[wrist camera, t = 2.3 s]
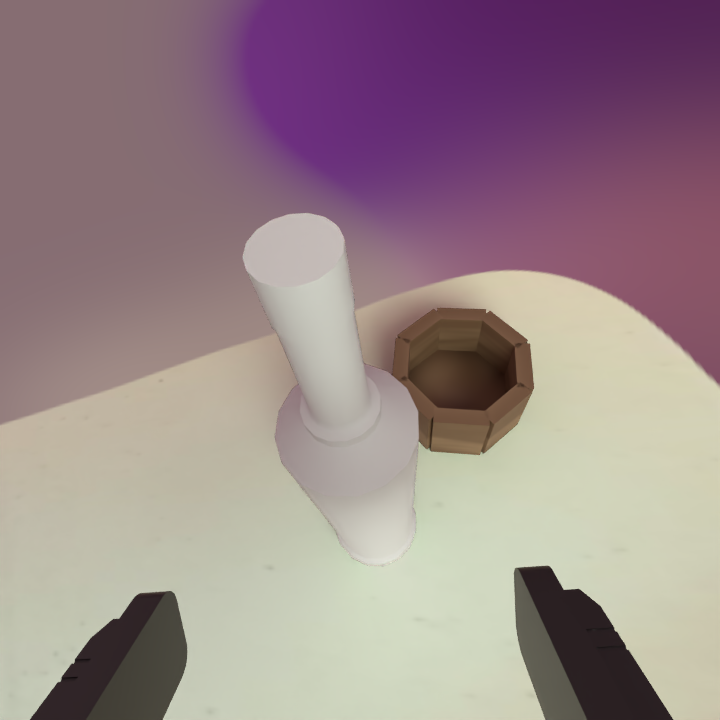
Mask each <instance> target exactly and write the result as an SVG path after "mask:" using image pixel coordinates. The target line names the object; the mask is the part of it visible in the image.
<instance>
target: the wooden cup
mask: <svg viewBox="0 0 720 720" xmlns="http://www.w3.org/2000/svg"><path fill="white" fill-rule="evenodd" d="M527 341H528V340H527V339H526V338H524V337H523V336H522V335H521V334H519V333H518V332H517V331H515V330H514V329H513V328H512V327H510V326H509V325H508V324H506V323H505V322H504V321H503V320H501V319H500V318H499V317H497V316H496V315H495V314H493V313H492V312H491V311H489V312H488V313H486V309H458V308H437V312H436V311H435V310H434V309H433V310H431V311H430V312H429V313H427V314H426V315H425V316H423V317H422V318H420V319H419V320H418V321H416V322H415V323H414V324H412V325H411V326H409V327H408V328H407V329H405V330H404V331H403V332H401V333H400V334H398V338H396V341H395V352H394V363H393V374H392V376H393V377H395V378H396V379H397V380H398V381H399V382H400V383H401V384H403V385H404V386H405V387H406V388H407V389H408V391H409V393H410V396H411V398H412V400H413V402H414V404H415V406H416V408H417V410H418V425H419V442H420V443H421V444H422V445H423V446H424V447H425V448H426V449H428V448H429V447H431V451H434V452H448V453H461V454H474V455H480V453H481V451H482V452H483V453H485V452H486V451H487V450H489V449H490V448H491V447H492V446H493V445H494V444H495V443H497V442H498V441H499V440H500V439H501V438H502V437H503V436H505V435H506V434H507V433H508V432H509V431H510V430H511V429H513V428H514V427H515V426H516V425H517V424H518V422H519V419H520V417H521V415H522V413H523V411H524V409H525V407H526V405H527V402H528V400H529V398H530V396H531V394H532V391H533V389H534V383H533V372H532V361H531V350H530V344H528V343H527Z"/></svg>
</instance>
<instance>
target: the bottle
mask: <svg viewBox="0 0 720 720" xmlns="http://www.w3.org/2000/svg"><path fill="white" fill-rule="evenodd" d="M243 260H244V264H245V267H246V270H247V273H248V275H249V277H250V279H251V282H252V284H253V286H254V288H255V291H256V293H257V295H258V298H259V300H260V302H261V304H262V307H263V309H264V311H265V313H266V316H267V318H268V320H269V322H270V325H271V327H272V329H273V330H275V331H276V332H277V335H278V337H279V339H280V342H281V344H282V346H283V349H284V351H285V353H286V356H287V358H288V360H289V363H290V365H291V367H292V370H293V372H294V374H295V377H296V379H297V381H298V385H297V386H295V387H294V388H293V389H292V390H291V392H290V393H289V395H288V397H287V398H286V400H285V402H284V403H283V405H282V407H281V409H280V410H279V413H278V419H277V426H276V432H275V440H276V444H277V447H278V451H279V455H280V458H281V462H282V464H283V465H284V466H285V468H286V469H287V470H288V471H289V473H290V474H291V475H292V476H293V478H294V479H295V480H296V481H297V483H298V484H299V485H300V486H301V488H302V489H303V490H304V491H305V493H306V494H307V495H308V497H309V498H310V499H311V500H312V502H313V503H314V504H315V505H316V507H317V508H318V509H319V510H320V512H321V513H322V514H323V515H324V517H325V518H326V519H327V520H328V522H329V523H330V524H331V525H332V527H333V528H334V529H335V530H336V533H337V536H338V539H339V542H340V544H341V546H342V547H343V548H344V549H345V550H346V552H347V553H348V554H349V555H350V556H351V557H352V558H353V559H355V560H357V561H359V562H361V563H363V564H365V565H367V566H385V565H387V564H390V563H392V562H395V561H397V560H399V559H400V558H401V557H402V556H403V554H404V553H405V552H406V551H407V550H408V549H409V548H410V546H411V543H412V541H413V538H414V535H415V533H416V512H415V510H414V508H413V504H414V491H415V479H416V467H417V454H418V442H419V425H418V410H417V408H416V406H415V404H414V402H413V400H412V398H411V396H410V393H409V391H408V389H407V388H406V387H405V386H404V385H403V384H401V383H400V382H399V381H398V380H397V379H396V378H395V377H393V376H392V375H391V374H390V373H389V372H387V371H384V370H382V369H379V368H376V367H373V366H370V365H367V364H364V362H363V357H362V351H361V346H360V340H359V335H358V329H357V324H356V318H355V313H354V301H355V299H354V293H353V287H352V281H351V275H350V269H349V263H348V258H347V251H346V245H345V240H344V237H343V235H342V233H341V231H340V229H339V227H338V226H337V225H335V224H334V223H333V222H331V221H330V220H329V219H327V218H326V217H322V216H318V215H314V214H310V213H302V214H289V215H285V216H282V217H279V218H276V219H273V220H271V221H269V222H268V223H266V224H265V225H263V226H262V227H260V228H259V229H257V230H256V231H255V232H254V234H253V235H252V236H251V237H250V239H249V240H248V241H247V242H246V245H245V249H244V253H243Z"/></svg>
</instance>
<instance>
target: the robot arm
mask: <svg viewBox="0 0 720 720" xmlns="http://www.w3.org/2000/svg"><path fill="white" fill-rule="evenodd" d="M514 587H515V612H516V629H517V636H518V641H519V646H520V650H521V653H522V656H523V659H524V662H525V665H526V668H527V670H528V673H529V676H530V678H531V681H532V684H533V687H534V689H535V692H536V695H537V698H538V700H539V703H540V706H541V708H542V711H543V714H544V717H545V719H546V720H673V719H672V717H671V715H670V714H669V712H668V711H667V709H666V708H665V706H664V705H663V703H662V701H661V700H660V698H659V697H658V695H657V694H656V692H655V691H654V689H653V687H652V686H651V684H650V683H649V681H648V680H647V678H646V676H645V675H644V673H643V672H642V670H641V669H640V667H639V666H638V664H637V662H636V661H635V659H634V658H633V656H632V655H631V653H630V652H629V650H627V649H626V645H625V644H624V642H623V641H622V639H621V638H620V636H619V634H618V633H617V632H615V630H614V627H613V625H612V624H611V622H610V620H609V619H608V617H607V616H606V614H605V613H604V611H603V609H602V608H601V606H600V605H598V604H597V603H596V602H595V601H593V600H592V599H591V598H590V597H588V596H587V595H586V594H585V593H584V592H582V591H581V590H580V589H572V590H563V588H562V586H561V584H560V583H559V581H558V579H557V577H556V576H555V574H554V572H553V570H552V569H551V567H550V566H536V567H522V568H515V571H514ZM186 661H187V643H186V639H185V634H184V630H183V625H182V621H181V617H180V612H179V608H178V603H177V599H176V596H175V594H174V593H173V592H171V591H166V592H152V593H140V594H138V595H137V596H135V598H134V599H133V600H132V602H131V603H130V604H129V606H128V607H127V609H126V610H125V611H124V613H123V614H122V616H121V617H120V619H113V620H112V621H110V622H109V623H108V624H107V625H106V626H105V627H103V628H102V629H101V630H100V631H99V632H98V633H96V634H95V635H94V636H93V637H92V638H91V639H90V640H89V641H88V643H87V644H86V645H85V647H84V648H83V649H82V651H81V652H80V653H79V655H78V656H77V657H76V659H75V663H74V664H71V665H70V667H69V668H68V669H67V671H66V672H65V674H64V675H63V676H62V679H61V682H58V683H57V684H56V686H55V687H54V688H53V690H52V691H51V692H50V694H49V695H48V696H47V698H46V699H45V700H44V702H43V703H42V704H41V706H40V707H39V708H38V710H37V711H36V712H35V714H34V715H33V716H32V718H31V719H30V720H163V717H164V715H165V713H166V711H167V709H168V707H169V704H170V702H171V700H172V698H173V696H174V694H175V691H176V689H177V687H178V685H179V683H180V681H181V678H182V676H183V673H184V670H185V666H186Z"/></svg>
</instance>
